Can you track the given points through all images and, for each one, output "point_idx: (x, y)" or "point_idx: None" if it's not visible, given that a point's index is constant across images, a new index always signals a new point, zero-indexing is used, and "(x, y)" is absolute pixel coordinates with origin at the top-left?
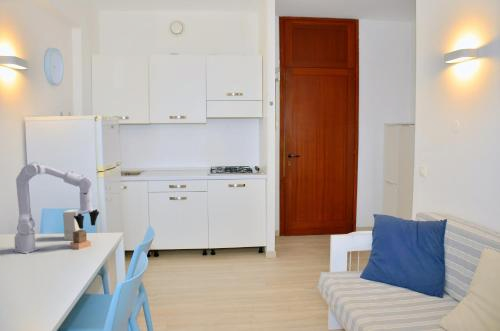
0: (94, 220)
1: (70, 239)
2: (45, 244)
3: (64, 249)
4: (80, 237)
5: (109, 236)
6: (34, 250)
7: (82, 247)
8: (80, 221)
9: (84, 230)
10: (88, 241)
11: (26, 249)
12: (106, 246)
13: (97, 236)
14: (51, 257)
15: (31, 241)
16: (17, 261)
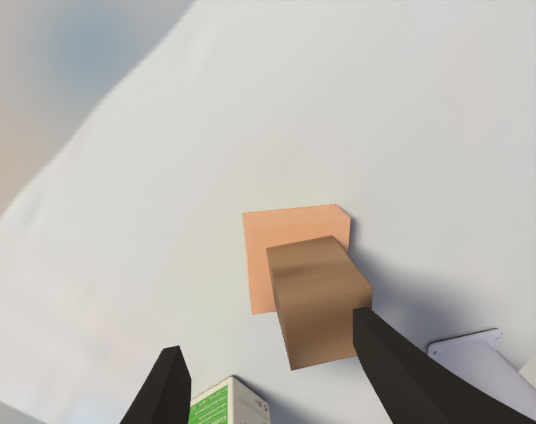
0: (154, 416)
1: (250, 391)
2: (359, 393)
3: (375, 266)
4: (336, 260)
5: (18, 321)
6: (456, 339)
7: (310, 208)
8: (473, 393)
9: (284, 326)
10: (262, 230)
11: (494, 350)
12: (168, 102)
13: (92, 367)
14: (512, 183)
15: (508, 384)
16: None
